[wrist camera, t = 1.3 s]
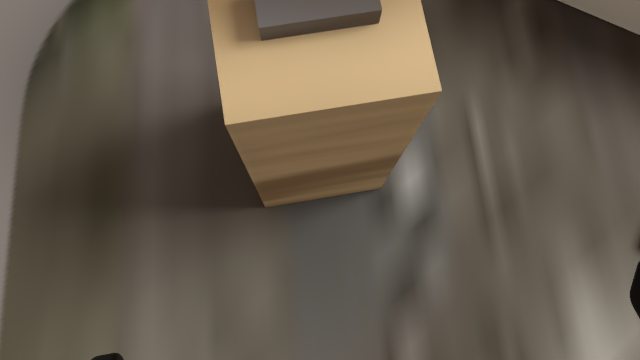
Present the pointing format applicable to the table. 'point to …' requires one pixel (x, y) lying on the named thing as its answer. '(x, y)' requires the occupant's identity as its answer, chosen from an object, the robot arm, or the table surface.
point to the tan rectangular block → (322, 90)
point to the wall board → (612, 11)
